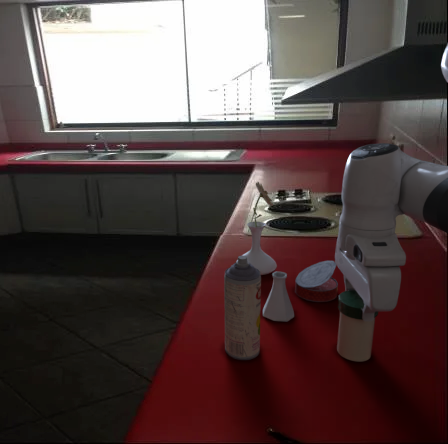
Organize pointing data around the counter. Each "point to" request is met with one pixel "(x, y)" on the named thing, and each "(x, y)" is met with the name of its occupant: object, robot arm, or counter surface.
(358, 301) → the lid
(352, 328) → the white jar
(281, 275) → the flask
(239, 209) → the counter surface
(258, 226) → the flower in vase
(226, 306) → the aerosol can
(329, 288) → the canned food
